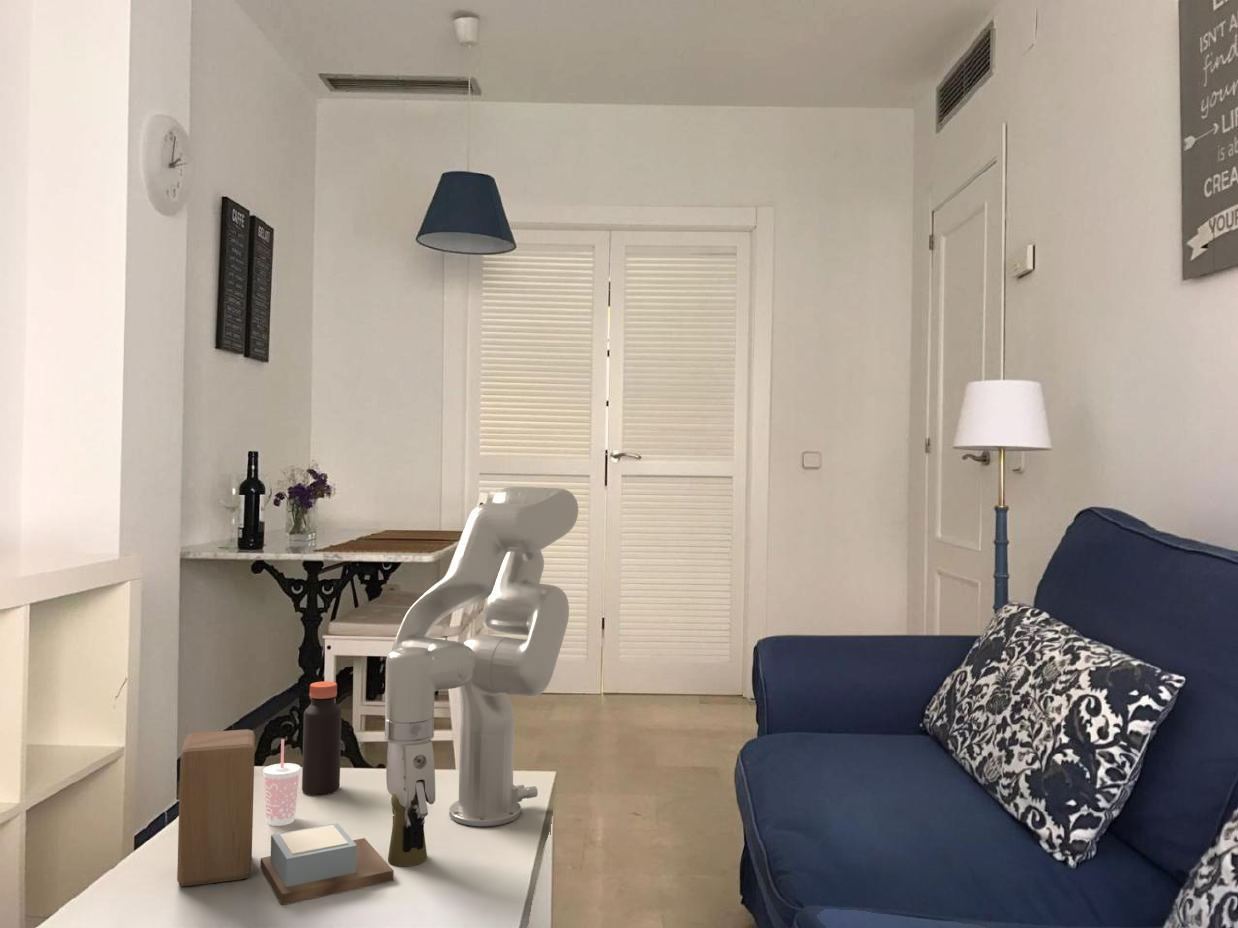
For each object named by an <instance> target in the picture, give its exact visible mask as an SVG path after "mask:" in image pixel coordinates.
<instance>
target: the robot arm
mask: <svg viewBox="0 0 1238 928" xmlns="http://www.w3.org/2000/svg"><path fill="white" fill-rule="evenodd" d="M578 517H579V504H578V500H577V499H576V496H575V495H574V494H573V492H571V491H569V490H567V489H565V488H559V487H558V488H555V487H554V488H553V487H533V486H530V487H529V486H511V487H510V486H509V487H505V488H502V489H499V490H498V491H496V492H495V494H494V495H493V497H492V499H491V502H487V503H481V504H479V505H477V506H476V507H474V508H473V509H472V510H471V512H470V513H469V515H468V518H467V520H466V523H465V525H464V528H463V530H462V533H461V535H460V537H459V541H458V543H457V546H456V549H455V551H454V554H453V556H452V559H451V562H450V564H449V566H448V569H447V571H446V573H445V575H444V577H443V578H442V579H440V580H439V581H438V582H437V583H435V584H434V585H433V586H431V587H430V588H428V590H427V591H425V592H424V594H423V595H422V596H420V597H419V598H418V599H417V600H416V601H415V602H414V603H413V604H412V605H411V607H410V608H409V609H408V610H407V611H406V614H405V616H404V617H403V619H402V621H401V623H400V626H399V628H398V631H397V633H396V636H395V638H394V642H393V645H392V648H391V651H390V652H389V653H388V654H387V656H386V660H385V687H384V688H385V689H384V691H385V692H384V694H385V695H384V697H385V699H384V700H385V701H384V703H385V704H384V706H385V707H384V709H385V711H384V713H385V714H384V740H385V741H386V742H387V752H386V773H385V774H386V776H385V777H386V779H385V780H386V788H387V789H386V790H387V791H388V794H390V795H391V796H392V794H393V793H395V794H396V796H397V798H398V800H399V803H400V804H401V805H402V806H404V807H405V808H404V810H405V826H403V845H402V850H403V851H404V852H410V850H411V848H417V850H419V849H422V848H423V843H424V835H425V827H424V825H425V818H426V817H427V816H428V815H429V810H428V806H427V805H428V804H430V805H433V804H435V802H436V773H435V772H436V770H435V754H434V747H433V741H432V739H433V738H434V735H435V728H434V726H435V693H436V692H437V691H444V690H451V689H452V690H453V689H457V688H458V689H459V695H460V696H459V697H460V726H459V727H460V728H459V729H460V730H459V731H460V733H459V739H460V740H459V769H458V771H459V776H458V800H456V801H455V802H454V803H452V804H451V805H450V807H449V817H450V818H451V819H452V820H453V821H455V822H456V823H459V824H462V825H466V826H472V827H494V826H495V827H496V826H500V825H505V824H507V823H508V824H509V823H510V822H513V821H515V820H517V819H518V818H519V817H520V815H521V813H522V806H521V804H520V802H522V801H523V799H524V800H525V799H531V798H532V799H533V798H536V797H537V796H538V788H537V786H535V785H534V786H528V787H526V786H525V784H520V785H519V784H518V785H514V758H515V757H514V756H515V755H514V754H515V753H514V751H515V723H516V722H515V721H516V720H515V711H514V707H513V704H512V701H511V698H510V697H509V694H510V695H515V696H517V695H518V696H523V697H536V696H539V695H541V694H542V693H544V692H545V690H547V687H549V684H550V682H551V680H552V677H553V674H554V671H555V667H556V666H557V661H558V659H559V654H560V651H561V647H562V643H563V640H564V638H565V635H566V631H567V628H568V627H567V626H568V624H569V618H570V617H569V616H570V615H569V614H570V605H569V600H568V599H569V598H568V597H567V594H566V593H565V591H564V590H563V589H562V588H560V587H558V586H557V585H554V584H547V583H540V582H541V578H542V575H543V572H544V567H545V560H544V556H543V555H544V554H543V553H542V550H543V549H546V548H547V547H548V546H550V545H551V544H554V543H555V542H556V541H558V540H560V539H561V538H563V537H564V536H566V535H567V534H568V533H570V531H571V530H572V529H573V528H574V526H575V524H576V523H577V521H578ZM482 601H484V605H483V609H482V620H483V623H484V625H485V626H487V628H489V629H490V630H493V631H495V632H499V633H504V634H511V635H519V636H527V639H521V638H513V637H512V638H511V637H507V636H499V635H498V636H497V635H491V634H489V635H487V634H485V635H484V634H482V635H481V634H480V635H474V636H472V637H470V638H468V639H466V640H464V642H460V641H456V640H448V639H442V638H441V639H440V638H434V637H430V635H431V633H432V631H433V630H434V628H435V627H436V626H437V625H438V624H439V623H440V621H442V620H443V619H444V618H446V617H447V616H449V615H450V614H452V613H455V612H456V611H459V610H461V609H464V608H467V607H468V606H471V605H473V604H477V603H479V602H482ZM411 801H416V804H414V805H411ZM427 803H428V804H427ZM391 808H392V821H393V820H394V813H395V810H394V809H393V807H392V806H391ZM413 809H417V810H416V812H413V813H412V815H410V810H413Z"/></svg>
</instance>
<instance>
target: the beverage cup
mask: <svg viewBox="0 0 1238 928" xmlns="http://www.w3.org/2000/svg"><path fill="white" fill-rule="evenodd" d="M280 741H281V743H280V744H281V745H280V763H275V764H271V765H268V766H266V767H264V768H263V770H262V772H263V774H262V775H263V777H264V794H265V797H264V799H265V820H266V824H267V825H269V826H274V827H275V826H277V827H280V826H286V825H290V824H292V823H294V821H295V820H296V809H297V798H298V787H299V777H300V776H299V775H300V773H301V769H302V767H301V766H300V765H299V764H296V763H292V762H291V763H290V762H286V763H285V761H284V760H285V759H284V758H285V739H284V738H282V739H281V740H280Z"/></svg>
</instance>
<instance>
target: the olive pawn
mask: <svg viewBox="0 0 1238 928" xmlns="http://www.w3.org/2000/svg"><path fill="white" fill-rule="evenodd" d="M390 801H391V808H392V807H393V809H394V810H395V813H394V815H393V816H394V820H393V819H392V829H391V836H390V842H389V849H388V855H387V861H388V864H391V865H393V866H396V867H397V866H398V867H409V866H410V867H412V866H417V865H419V864H422V863H423V862H425V861H426V860H427V859H428V853H427V846H426V845H427V844H426V837H425V834H424V843H423V848H422V849H419V850H417V848H411V850H410V852H404V851H403V850H402V845H403V826H405V810H404V808H405V807H404V806H402V805H401V804H400V803H399V800H398V798H397V796H396V794H395V793H393V794H392V795H391V800H390ZM414 804H416V801H411V805H414ZM416 810H417V809H413V810H410V815H412V813H413V812H416Z"/></svg>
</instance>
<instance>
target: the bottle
mask: <svg viewBox="0 0 1238 928" xmlns="http://www.w3.org/2000/svg"><path fill="white" fill-rule="evenodd" d="M337 695H338V683H337V682H334V681H326V680H325V681H317V682H316V681H315V682H312V683H310V685H309V700H310V704H309V705H308V707H306V708H305V710H303V711H304V712H303V726H302V727H303V730H302V731H303V732H302V733H303V734H302V765H301V766H302V767H301V769H302V770H301V771H302V774H301V791H302V792H303V794H305V795H308V796H314V797H315V796H318V797H319V796H327V795H331V794H335V793H336V792H337V791H338V790H339V789H340V783H341V782H340V779H341V747H342V746H341V744H342V741H341V740H342V709H341V707H340V706H339V705H338V704H337V703H336V699H337Z"/></svg>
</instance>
